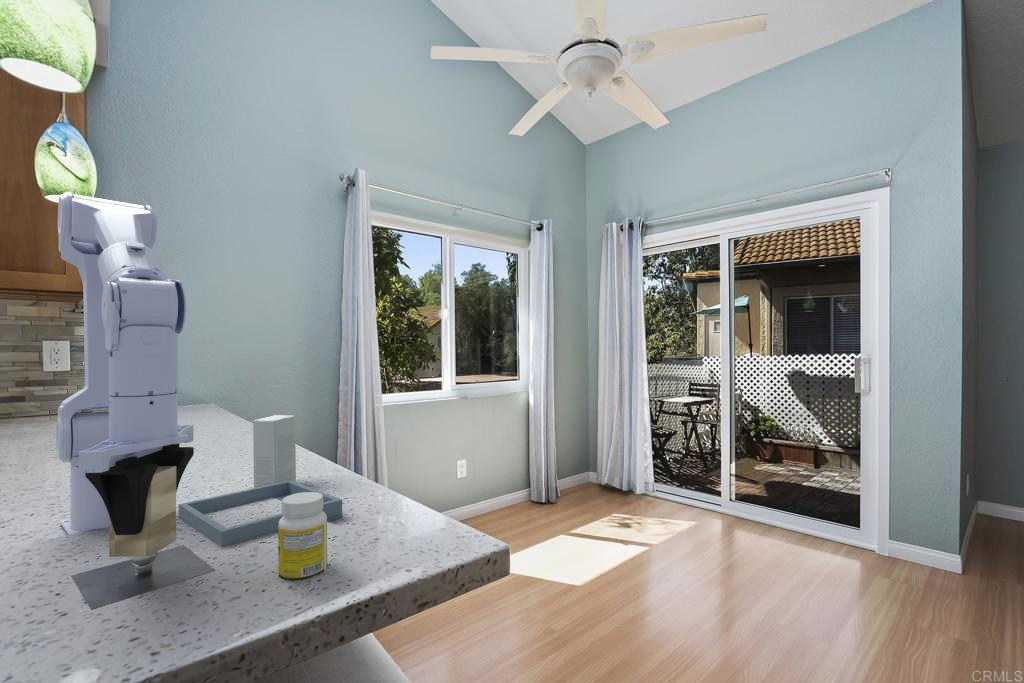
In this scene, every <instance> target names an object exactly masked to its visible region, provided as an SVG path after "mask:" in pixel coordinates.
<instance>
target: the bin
mask: <svg viewBox="0 0 1024 683" xmlns="http://www.w3.org/2000/svg"><path fill="white" fill-rule="evenodd" d="M303 492H316V493H320V494H322V495H323V509H322V511H323V512H325V514H326V516H327V523H328V522H330V521H331V522H332V521H335V520H337V519H341V518H343V499H342V498H340V497H336V496H334V495H331V494H328V493H326V492H323V491H320V490H318V489H316V488H313V487H309V486H306V485H304V484H302V483H299V482H294V481H291V480H290V481H285V482H280V483H276V484H271V485H266V486H262V487H257V488H254V487H253V488H248V489H244V490H237V491H235V492H231V493H226V494H225V493H224V494H220V495H215V496H211V497H207V498H202V499H198V500H192V501H188V502H182V503H179V504H178V516H177V517H178V518H180V520H182V521H183V522H185V523H187V524H188V525H189V526H191V527H192V528H194V530H196V531H198V532H199V533H201V534H202V535H204V536H205V537H207V539H209V540H211V541H212V542H214V543H215V544H216V545H218V546H220V547H222V548H223V547H226V546H229V545H232V544H235V543H239V542H242V541H246V540H250V539H253V538H257V537H260V536H264V535H267V534H270V533H274V532H278V524H279V521H280V519H281V518H282V517H283V516H284V515H283V514H282V513H279V514H276V515H275V514H274V515H271V516H268V517H263V518H259V519H257V520H252V521H249V522H245V523H241V524H236V525H234V526H230V527H225V526H223V525H221V524H220V523H218V522H217V521H215V520H214V519H212V518H211V517H209V516H206V514H205V513H209V512H213V511H217V510H222V509H226V508H229V507H235V506H239V505H244V504H249V503H251V502H256V501H261V500H264V499H269V498H274V499H276V500H278V501H281V502H282V500H283V498H285V497H287V496H289V495H292V494H296V493H303Z"/></svg>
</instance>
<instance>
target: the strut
mask: <svg viewBox="0 0 1024 683" xmlns="http://www.w3.org/2000/svg"><path fill="white" fill-rule="evenodd" d="M108 528H109V529H108V530H109V533H108V536H109V537H108V543H109V544H108V547H109V548H108V558H118V557H119V558H120V557H122V558H123V557H131V556H152V555H153V554H155V553H156V552H160V551H162V550H163V549H164V548H166V547H167V546H169V545H170V544H172V543H174V542H175V541H177V492H176V466H158V468H157V470H156V472H155V474H154V476H153V478H152V481H151V484H150V487H149V491H148V495H147V500H146V510H145V519H144V524H143V528H142V531H141V532H140V533H138V534H136V535H116V534H115V532H114V529H113V526H112V523H111V520H110V517H109V527H108Z"/></svg>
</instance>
